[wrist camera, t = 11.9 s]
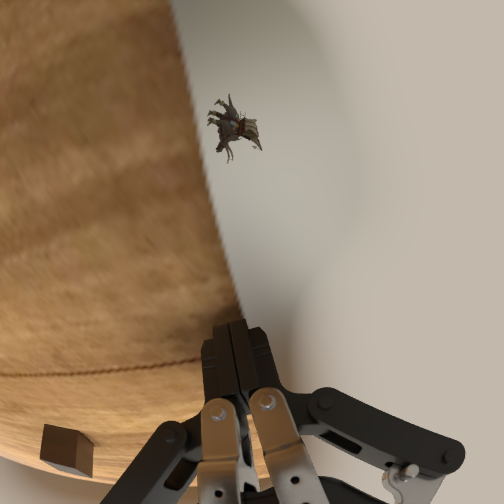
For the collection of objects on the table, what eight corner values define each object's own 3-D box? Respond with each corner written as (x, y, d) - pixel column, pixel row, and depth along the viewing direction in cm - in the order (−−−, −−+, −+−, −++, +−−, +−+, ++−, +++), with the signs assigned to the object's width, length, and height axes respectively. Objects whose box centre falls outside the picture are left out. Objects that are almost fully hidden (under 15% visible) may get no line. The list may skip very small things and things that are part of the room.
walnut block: (44, 423, 19) (39, 459, 15) (78, 430, 20) (75, 468, 16) (61, 438, 21) (58, 470, 17) (93, 444, 22) (92, 478, 18)
